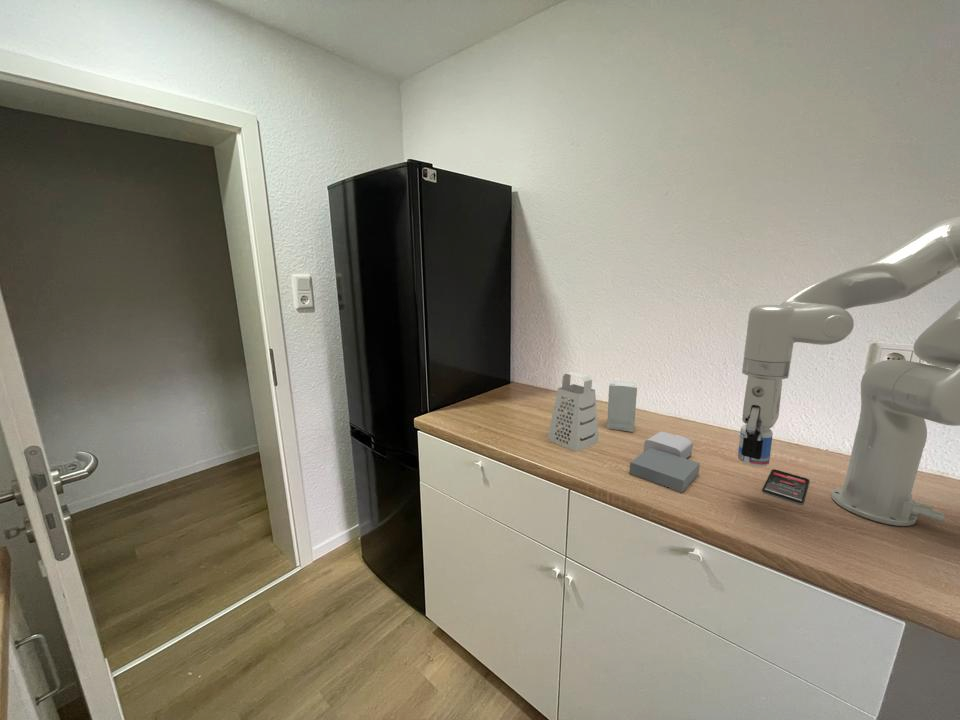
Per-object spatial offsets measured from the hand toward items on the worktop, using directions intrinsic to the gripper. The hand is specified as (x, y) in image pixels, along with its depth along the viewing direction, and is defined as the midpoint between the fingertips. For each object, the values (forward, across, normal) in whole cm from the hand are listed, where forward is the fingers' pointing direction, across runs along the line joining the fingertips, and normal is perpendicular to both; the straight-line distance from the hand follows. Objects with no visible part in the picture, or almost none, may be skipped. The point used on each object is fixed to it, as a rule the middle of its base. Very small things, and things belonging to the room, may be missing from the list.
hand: (754, 451), depth 80 cm
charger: (+12, +14, +20) cm, 27 cm away
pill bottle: (+3, 0, 0) cm, 3 cm away
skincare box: (+11, +20, +38) cm, 44 cm away
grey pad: (+11, -1, +17) cm, 20 cm away
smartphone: (+13, +14, -5) cm, 20 cm away
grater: (+11, 0, +43) cm, 44 cm away
